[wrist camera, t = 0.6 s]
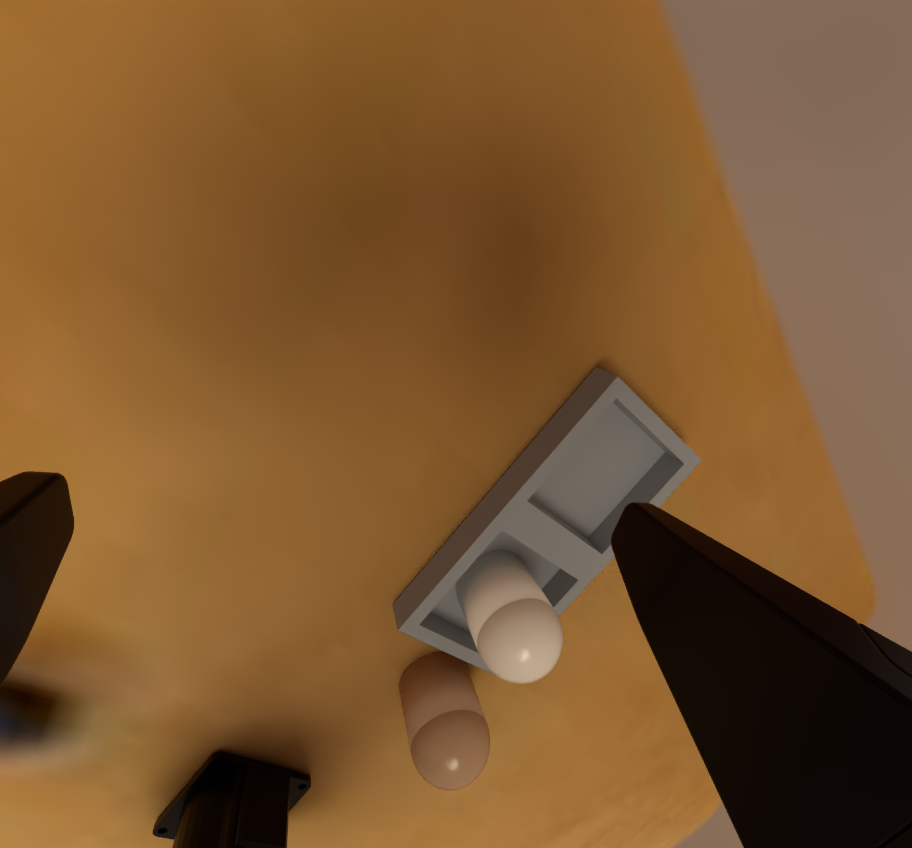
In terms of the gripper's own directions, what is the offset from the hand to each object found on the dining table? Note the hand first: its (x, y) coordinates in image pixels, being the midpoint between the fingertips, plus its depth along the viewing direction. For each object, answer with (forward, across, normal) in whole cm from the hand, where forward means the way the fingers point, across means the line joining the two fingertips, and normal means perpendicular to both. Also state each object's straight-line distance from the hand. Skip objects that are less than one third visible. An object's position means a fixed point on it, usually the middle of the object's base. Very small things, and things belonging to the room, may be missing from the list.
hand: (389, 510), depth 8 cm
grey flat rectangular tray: (+13, -12, +11) cm, 21 cm away
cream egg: (+12, -10, +15) cm, 21 cm away
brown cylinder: (+11, -7, +22) cm, 26 cm away
